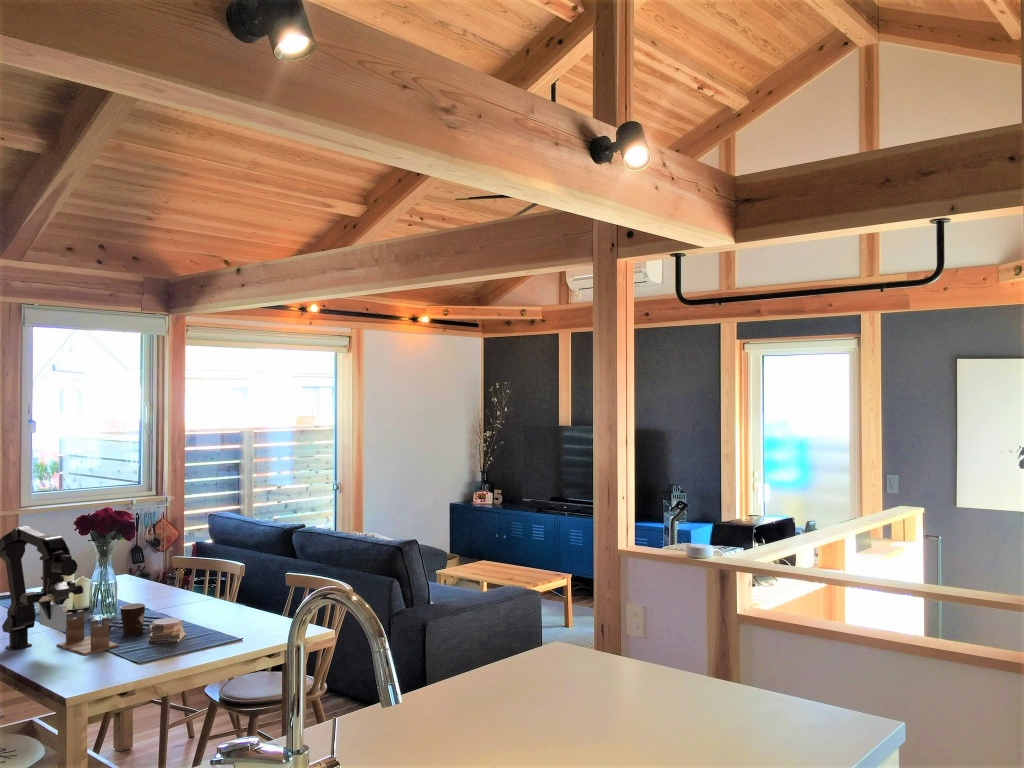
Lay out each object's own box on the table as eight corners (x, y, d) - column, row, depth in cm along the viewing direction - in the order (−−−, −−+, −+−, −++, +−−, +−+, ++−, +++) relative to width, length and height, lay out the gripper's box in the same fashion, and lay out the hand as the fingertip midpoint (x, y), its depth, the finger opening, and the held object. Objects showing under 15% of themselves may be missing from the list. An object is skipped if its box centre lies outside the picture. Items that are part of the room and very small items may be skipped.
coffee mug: (129, 637, 307) (129, 610, 307) (115, 634, 311) (115, 607, 312) (157, 629, 317) (157, 603, 317) (143, 626, 321) (143, 600, 322)
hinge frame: (56, 646, 297) (56, 615, 298) (90, 637, 307) (89, 608, 307) (84, 655, 285) (84, 623, 286) (118, 646, 295) (118, 615, 295)
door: (37, 623, 292) (36, 600, 292) (43, 622, 293) (42, 599, 294) (63, 631, 280) (62, 607, 281) (69, 630, 282) (68, 606, 282)
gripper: (34, 581, 275) (34, 628, 275) (90, 570, 290) (91, 615, 290) (19, 577, 282) (19, 623, 281) (75, 567, 297) (75, 611, 296)
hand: (52, 618), depth 287 cm, fingers closed on door, 2 cm apart
